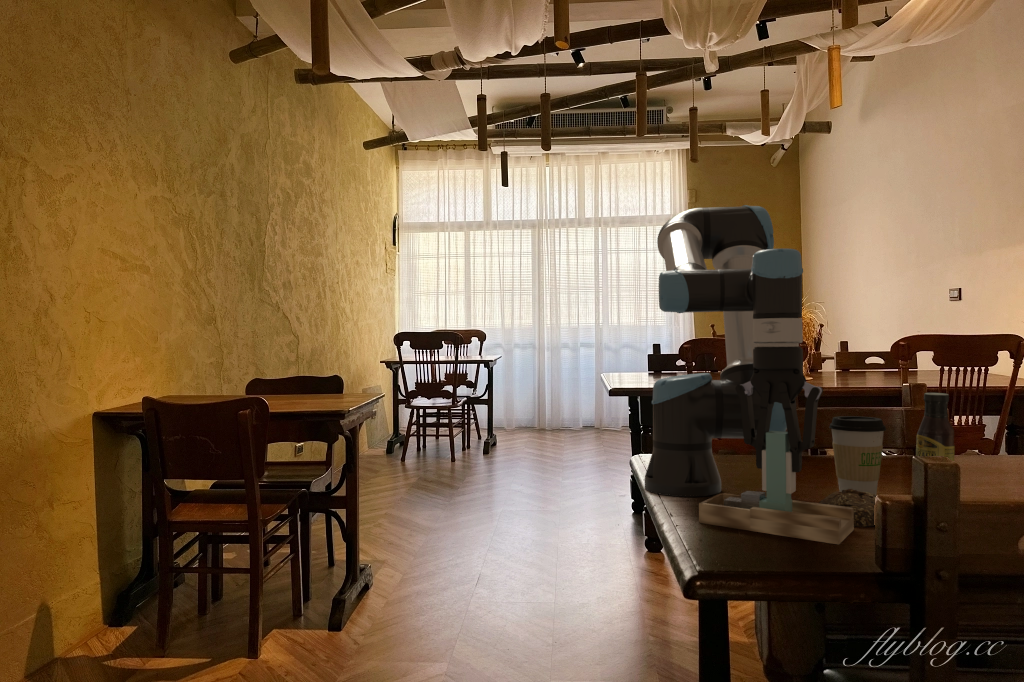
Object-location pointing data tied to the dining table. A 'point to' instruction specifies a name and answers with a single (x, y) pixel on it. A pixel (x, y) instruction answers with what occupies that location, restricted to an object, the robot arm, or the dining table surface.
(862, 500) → the bread roll
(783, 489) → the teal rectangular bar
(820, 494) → the dining table surface
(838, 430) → the coffee cup
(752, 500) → the chip
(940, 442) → the sauce bottle
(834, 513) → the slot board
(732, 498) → the chip
